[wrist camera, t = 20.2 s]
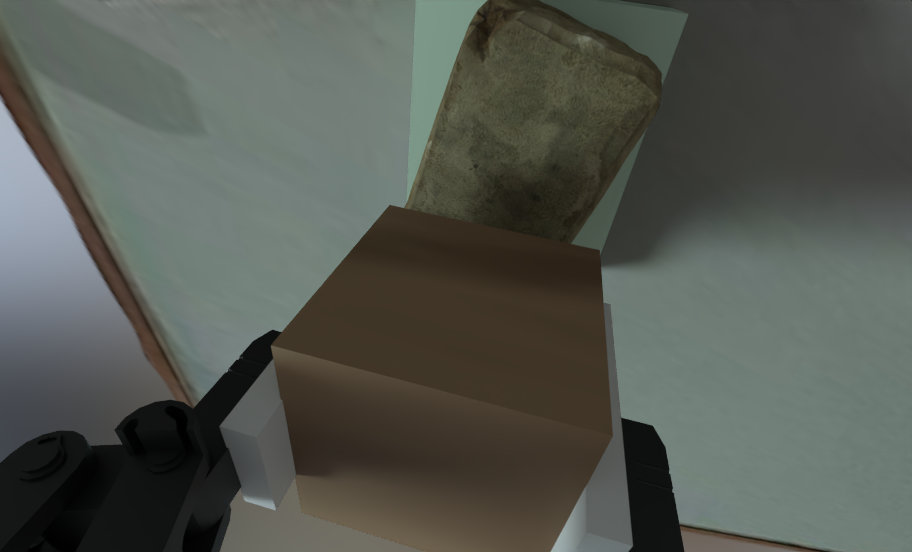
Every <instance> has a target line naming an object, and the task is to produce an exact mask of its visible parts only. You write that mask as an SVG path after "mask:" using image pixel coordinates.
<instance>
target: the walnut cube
mask: <svg viewBox="0 0 912 552" xmlns="http://www.w3.org/2000/svg"><path fill="white" fill-rule="evenodd" d="M271 349H272V355H273V360H274V366H275V371H276V376H277V382H278V387H279V392H280V398H281V400H283V405H284V411H285V416H286V422H287V427H288V433H289V438H290V444H291V449H292V455H293V460H294V466H295V471H296V476H295V479H296V484H297V490H298V495H299V500H300V506H301V511H302V513H304V514H307V515H310V516H313V517H317V518H320V519H323V520H326V521H330V522H332V523H336V524H339V525H342V526H345V527H349V528H352V529H355V530H358V531H361V532H365V533H367V534H371V535H374V536H377V537H381V538H384V539H387V540H390V541H393V542H396V543H399V544H403V545H406V546H409V547H412V548H416V549H418V550H422V551H425V552H551V550H552V548H553V547H554V545H555V543H556V541H557V539H558V537H559V535H560V533H561V532H562V530H563V528H564V526H565V524H566V522H567V520H568V518H569V517H570V515H571V513H572V511H573V509H574V507H575V505H576V504H577V502H578V500H579V498H580V496H581V494H582V492H583V490H584V489H585V487H586V486H587V484H588V482H589V480H590V478H591V476H592V474H593V473H594V471H595V469H596V467H597V465H598V463H599V461H600V460H601V458H602V456H603V454H604V452H605V450H606V448H607V447H608V445H609V443H610V441H611V439H612V437H613V429H612V415H611V401H610V387H609V373H608V359H607V345H606V331H605V317H604V303H603V289H602V275H601V261H600V250H597V249H593V248H588V247H583V246H579V245H574V244H569V243H565V242H560V241H555V240H551V239H546V238H541V237H536V236H532V235H527V234H522V233H518V232H513V231H508V230H504V229H499V228H494V227H490V226H485V225H480V224H476V223H471V222H466V221H462V220H457V219H452V218H448V217H443V216H438V215H434V214H429V213H424V212H420V211H415V210H410V209H406V208H401V207H396V206H392V205H389V207H388V208H387V209H386V210H385V211H384V212H383V214H382V215H381V216H380V217H379V218H378V219H377V221H376V222H375V223H374V224H373V225H372V227H371V228H370V229H369V230H368V231H367V232H366V234H365V235H364V236H363V237H362V238H361V240H360V241H359V242H358V243H357V244H356V245H355V247H354V248H353V249H352V250H351V251H350V253H349V254H348V255H347V256H346V257H345V258H344V260H343V261H342V262H341V263H340V264H339V265H338V267H337V268H336V269H335V270H334V271H333V273H332V274H331V275H330V276H329V277H328V278H327V280H326V281H325V282H324V283H323V284H322V286H321V287H320V288H319V289H318V290H317V291H316V293H315V294H314V295H313V296H312V297H311V299H310V300H309V301H308V302H307V303H306V304H305V306H304V307H303V308H302V309H301V310H300V311H299V313H298V314H297V315H296V316H295V317H294V319H293V320H292V321H291V322H290V323H289V324H288V326H287V327H286V328H285V329H284V330H283V332H282V333H281V334H280V335H279V336H278V337H277V339H276V340H275V341H274V342H273V343H272V345H271Z"/></svg>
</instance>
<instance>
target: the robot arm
mask: <svg viewBox="0 0 912 552" xmlns="http://www.w3.org/2000/svg"><path fill="white" fill-rule="evenodd" d="M604 317H605V331H606V345H607V359H608V373H609V387H610V401H611V415H612V429H613V437H612V439H611V441H610V443H609V445H608V447H607V448H606V450H605V452H604V454H603V456H602V458H601V460H600V461H599V463H598V465H597V467H596V469H595V471H594V473H593V474H592V476H591V478H590V480H589V482H588V484H587V486H586V487H585V489H584V490H583V492H582V494H581V496H580V498H579V500H578V502H577V504H576V505H575V507H574V509H573V511H572V513H571V515H570V517H569V518H568V520H567V522H566V524H565V526H564V528H563V530H562V532H561V533H560V535H559V537H558V539H557V541H556V543H555V545H554V547H553V548H552V550H551V552H684V547H683V542H682V536H681V531H680V525H679V520H678V514H677V509H676V503H675V498H674V493H672V489H673V487H672V481H671V476H670V474H669V465H668V459H667V454H666V448H665V446H664V444H663V443H662V441H661V439H660V437H659V436H658V434H657V432H656V431H655V429H654V427H653V426H652V425H648V424H644V423H640V422H636V421H632V420H628V419H624V418H621V413H620V403H619V392H618V381H617V371H616V360H615V350H614V339H613V328H612V318H611V307H610V304H606V303H604ZM281 333H282V332H279V331H275V330H271V331H269V332H268V333H266V334H264V335H263V336H261V337H259V338H258V339H256V340H254V341H253V342H252V343H251V344H250V345H249V347H248V348H247V349H246V350H245V351H244V352H243V353H242V354H241V356H240V358H239V360H236V361H235V362H234V363H233V365H232V366H231V367H230V368H229V369H228V372H227V373H226V372H225V374H224V375H223V376H222V377H221V378H220V379H219V380H218V381H217V383H216V384H215V385H214V386H213V387H212V388H211V389H210V390H209V392H208V393H207V394H206V395H205V396H204V397H203V398H202V399H201V401H200V402H199V403H198V404H197V405H196V406H195V407H194V409H192V408H191V407H190V406H188V405H187V404H185V403H184V402H180V401H174V400H167V401H159V402H154V403H151V404H149V405H146V406H144V407H141V408H139V409H137V410H136V411H134V412H133V413H131V414H130V415H128V416H127V417H126V418H125V419H124V420H123V421H122V422H121V423H120V424H119V425H118V426H117V428H116V429H115V432H116V433H117V435H118V437H119V439H120V440H121V442H122V444H123V445H99V446H90V445H89V444H88V442H87V440H86V439H85V437H84V436H83V435H81V434H79V433H77V432H74V431H56V432H52V433H48V434H44V435H41V436H39V437H37V438H35V439H33V440H31V441H28V442H26V443H25V444H24V445H22V446H21V447H19V448H18V449H17V450H15V451H14V452H13V453H11V454H10V455H9V456H8V457H6V458H5V459H4V460H3V461H2V462H1V463H0V552H219V551H220V548H221V545H222V542H223V539H224V536H225V533H226V530H227V527H228V524H229V521H230V514H231V508H230V505H229V504H230V503H231V501H232V500H233V498H234V497H235V495H236V494H237V492H238V491H239V489H240V488H241V491H242V494H243V497H244V500H245V501H247V502H251V503H254V504H257V505H260V506H263V507H267V508H270V509H273V510H277V508H278V506H279V504H280V503H281V501H282V499H283V497H284V495H285V494H286V492H287V490H288V489H289V487H290V485H291V483H292V481H293V480H294V478H295V476H296V471H295V466H294V460H293V455H292V449H291V444H290V438H289V433H288V427H287V422H286V416H285V411H284V405H283V400H281V398H280V392H279V387H278V382H277V376H276V371H275V366H274V360H273V355H272V349H271V345H272V343H273V342H274V341H275V340H276V339H277V337H278V336H279V335H280V334H281Z"/></svg>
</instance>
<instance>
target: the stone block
mask: <svg viewBox="0 0 912 552" xmlns="http://www.w3.org/2000/svg"><path fill="white" fill-rule="evenodd" d="M661 80H662V73H661V71H660V70H659V69H658V67H657V65H656V64H655V63H654V62H653V61H652V60H651V59H650V58H649V57H648V56H646V55H643V54H641V53H638V52H636V51H635V50H633V49H632V48H630V47H629V46H628V45H627V44H626V43H624V42H622V41H620V40H619V39H617V38H615V37H613V36H611V35H609V34H607V33H605V32H602V31H599V30H596V29H593V28H591V27H589V26H587V25H585V24H583V23H582V22H580V21H578V20H576V19H575V18H573V17H571V16H570V15H568V14H567V13H565V12H563V11H561V10H559V9H557V8H555V7H553V6H551V5H548V4H546V3H543V2H541V1H540V0H487V1H486V2H485V3H484V4H483V5H482V6H481V7H480V8H479V9H478V10H477V12H476V13H475V15H474V17H473V19H472V20H471V22H470V24H469V26H468V29H467V31H466V34H465V36H464V39H463V41H462V44H461V47H460V49H459V52H458V55H457V58H456V60H455V63H454V66H453V68H452V71H451V74H450V77H449V80H448V83H447V86H446V89H445V92H444V95H443V98H442V100H441V103H440V106H439V109H438V112H437V114H436V117H435V120H434V123H433V126H432V129H431V132H430V135H429V138H428V141H427V144H426V147H425V150H424V153H423V156H422V159H421V163H420V166H419V169H418V172H417V174H416V177H415V180H414V183H413V185H412V188H411V191H410V195H409V198H408V201H407V203H406V205H405V208H406V209H410V210H415V211H420V212H424V213H429V214H434V215H438V216H443V217H448V218H452V219H457V220H462V221H466V222H471V223H476V224H480V225H485V226H490V227H494V228H499V229H504V230H508V231H513V232H518V233H522V234H527V235H532V236H536V237H541V238H546V239H551V240H555V241H560V242H565V243H569V244H571V243H572V242H573V240H574V239H575V237H576V236H577V234H578V233H579V232H580V230H581V229H582V227H583V226H584V224H585V223H586V221H587V220H588V218H589V217H590V215H591V214H592V212H593V211H594V209H595V208H596V206H597V205H598V203H599V202H600V200H601V199H602V198H603V196H604V194H605V193H606V191H607V190H608V188H609V187H610V185H611V183H612V182H613V180H614V179H615V177H616V175H617V174H618V172H619V170H620V169H621V167H622V165H623V163H624V162H625V160H626V158H627V157H628V155H629V154H630V152H631V151H632V150H633V148H634V147H635V145H636V144H637V142H638V141H639V139H640V138H641V136H642V135H643V133H644V132H645V130H646V129H647V127H648V126H649V125H650V123H651V122H652V120H653V118H654V116H655V114H656V112H657V110H658V108H659V106H660V100H661V92H662V82H661Z"/></svg>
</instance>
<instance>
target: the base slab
mask: <svg viewBox="0 0 912 552" xmlns="http://www.w3.org/2000/svg"><path fill="white" fill-rule="evenodd" d="M486 1H487V0H416V12H415V33H414V55H413V76H412V97H411V118H410V139H409V160H408V181H407V201H408V198H409V195H410V191H411V188H412V185H413V183H414V180H415V177H416V174H417V172H418V169H419V166H420V163H421V159H422V156H423V153H424V150H425V147H426V144H427V141H428V138H429V135H430V132H431V129H432V126H433V123H434V120H435V117H436V114H437V112H438V109H439V106H440V103H441V100H442V98H443V95H444V92H445V89H446V86H447V83H448V80H449V77H450V74H451V71H452V68H453V66H454V63H455V60H456V58H457V55H458V52H459V49H460V47H461V44H462V41H463V39H464V36H465V34H466V31H467V29H468V26H469V24H470V22H471V20H472V19H473V17H474V15H475V13H476V12H477V10H478V9H479V8H480V7H481V6H482V5H483V4H484V3H485V2H486ZM540 1H541V2H543V3H546V4H548V5H551V6H553V7H555V8H557V9H559V10H561V11H563V12H565V13H567V14H568V15H570V16H571V17H573V18H575V19H576V20H578V21H580V22H582V23H583V24H585V25H587V26H589V27H591V28H593V29H596V30H599V31H602V32H605V33H607V34H609V35H611V36H613V37H615V38H617V39H619V40H620V41H622V42H624V43H626V44H627V45H628V46H629V47H630V48H632V49H633V50H635V51H636V52H638V53H641V54H643V55H646V56H648V57H649V58H650V59H651V60H652V61H653V62H654V63H655V64H656V65H657V67H658V69H659V70H660V71H661V73H662V80H661V82H662V86H663V83H664V80H665V78H666V75H667V72H668V70H669V67H670V64H671V61H672V59H673V56H674V53H675V50H676V48H677V45H678V42H679V39H680V37H681V34H682V31H683V29H684V26H685V23H686V20H687V18H688V15H689V14H687V13H685V12H682V11H679V10H677V9H674V8H670V7H663V6H656V5H649V4H642V3H635V2H628V1H621V0H540ZM646 130H647V129H646ZM646 130H645V132H646ZM645 132H644V133H643V135H642V136H641V138H640V139H639V141H638V142H637V144H636V145H635V147H634V148H633V150H632V151H631V152H630V154H629V155H628V157H627V158H626V160H625V162H624V163H623V165H622V167H621V169H620V170H619V172H618V174H617V175H616V177H615V179H614V180H613V182H612V183H611V185H610V187H609V188H608V190H607V191H606V193H605V194H604V196H603V198H602V199H601V200H600V202H599V203H598V205H597V206H596V208H595V209H594V211H593V212H592V214H591V215H590V217H589V218H588V220H587V221H586V223H585V224H584V226H583V227H582V229H581V230H580V232H579V233H578V234H577V236H576V237H575V239H574V240H573V242H572V243H571V244H574V245H579V246H583V247H588V248H593V249H597V250H600V256H601V253H602V250H603V247H604V245H605V242H606V239H607V236H608V234H609V231H610V228H611V225H612V223H613V220H614V217H615V214H616V212H617V209H618V206H619V204H620V201H621V198H622V195H623V193H624V190H625V187H626V184H627V182H628V179H629V176H630V173H631V171H632V168H633V165H634V163H635V160H636V157H637V154H638V152H639V149H640V146H641V143H642V141H643V138H644V135H645ZM406 203H407V202H406Z"/></svg>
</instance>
